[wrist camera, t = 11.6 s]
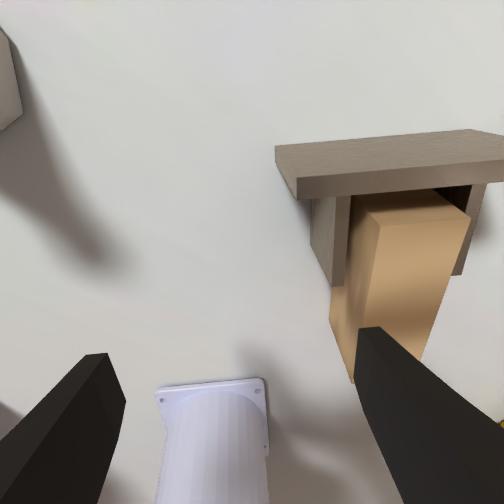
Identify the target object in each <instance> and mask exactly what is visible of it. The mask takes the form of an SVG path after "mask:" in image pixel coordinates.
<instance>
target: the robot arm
mask: <svg viewBox="0 0 504 504" xmlns="http://www.w3.org/2000/svg"><path fill="white" fill-rule="evenodd" d="M353 379H354V382H355V386H356V389H357V392H358V395H359V399H360V402H361V405H362V408H363V411H364V414H365V416H366V418H367V421H368V423H369V425H370V428H371V430H372V432H373V434H374V437H375V439H376V441H377V443H378V446H379V448H380V450H381V452H382V455H383V457H384V459H385V461H386V464H387V466H388V468H389V470H390V473H391V475H392V477H393V479H394V482H395V484H396V486H397V488H398V491H399V493H400V495H401V497H402V500H403V502H404V504H504V428H503V427H501V426H500V425H499V424H497V423H496V422H495V421H493V420H492V419H491V418H489V417H488V416H487V415H485V414H484V413H483V412H481V411H480V410H479V409H477V408H476V407H475V406H473V405H472V404H471V403H469V402H468V401H467V400H466V399H464V398H463V397H462V396H461V395H459V394H458V393H457V392H456V391H454V390H453V389H452V388H451V387H449V386H448V385H447V384H446V383H445V382H443V381H442V380H441V379H440V378H439V377H437V376H436V375H435V374H434V373H433V372H431V371H430V370H429V369H428V368H427V367H426V366H424V365H423V364H422V363H421V362H420V361H419V360H417V359H416V358H415V357H414V356H413V355H412V354H411V353H409V352H408V351H407V350H406V349H405V348H404V347H403V346H401V345H400V344H399V343H398V342H397V341H396V340H395V339H394V338H392V337H391V336H390V335H389V334H388V333H387V332H386V331H384V330H383V329H382V328H381V327H380V326H377V327H367V328H359V329H358V338H357V347H356V356H355V365H354V374H353ZM155 397H156V400H157V403H158V406H159V409H160V412H161V416H162V419H163V422H164V425H165V428H166V431H167V434H166V440H165V445H164V451H163V456H162V462H161V467H160V473H159V478H158V484H157V489H156V495H155V501H154V504H270V501H269V490H268V480H267V469H266V458H265V457H266V456H268V455H269V453H270V452H269V439H268V427H267V414H266V402H265V389H264V381H263V380H262V379H260V378H252V379H242V380H232V381H222V382H212V383H202V384H192V385H182V386H172V387H162V388H159V389H157V390H156V394H155ZM125 404H126V399H125V396H124V394H123V391H122V389H121V386H120V384H119V381H118V379H117V376H116V374H115V371H114V368H113V366H112V363H111V361H110V358H109V356H108V353H100V354H90V355H85V356H84V357H83V358H82V359H81V360H80V361H79V362H78V363H77V364H76V365H75V366H74V367H73V368H72V369H71V370H70V371H69V372H68V373H67V374H66V375H65V376H64V377H63V379H62V380H61V381H60V382H59V383H58V384H57V385H56V386H55V387H54V388H53V389H52V390H51V391H50V392H49V393H48V394H47V395H46V396H45V397H44V398H43V399H42V400H41V401H40V402H39V403H38V404H37V405H36V406H35V407H34V408H33V409H32V410H31V411H30V412H29V413H28V414H27V415H26V416H25V417H24V418H23V419H22V420H21V421H20V422H19V423H18V424H17V425H16V426H15V427H14V428H13V429H12V430H11V431H10V432H9V433H8V434H7V435H6V436H5V437H4V438H3V439H2V440H1V441H0V504H97V502H98V499H99V496H100V493H101V490H102V487H103V484H104V481H105V478H106V475H107V472H108V469H109V466H110V463H111V460H112V457H113V454H114V451H115V448H116V444H117V441H118V438H119V433H120V429H121V424H122V419H123V414H124V409H125Z"/></svg>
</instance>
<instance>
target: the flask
mask: <svg viewBox="0 0 504 504" xmlns="http://www.w3.org/2000/svg"><path fill="white" fill-rule="evenodd" d="M22 114H24V113H23V109H22V104H21V99H20V94H19V90H18V85H17V80H16V75H15V71H14V66H13V61H12V57H11V52H10V47H9V42H8V38H7V37H6V36H5V35H4V34H3V32H2V31H1V30H0V132H1V131H2V130H3V129H5V128H6V127H7V126H8V125H10V124H11V123H12V122H13V121H15V120H16V119H17V118H19V117H20V116H21V115H22Z"/></svg>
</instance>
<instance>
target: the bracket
mask: <svg viewBox="0 0 504 504" xmlns="http://www.w3.org/2000/svg"><path fill="white" fill-rule="evenodd" d="M275 162H276V164H277V166H278V168H279V170H280V171H281V173H282V175H283V177H284V179H285V180H286V182H287V184H288V186H289V187H290V189H291V191H292V193H293V195H294V196H295V198H296V200H305V199H311V247H312V249H313V251H314V253H315V255H316V257H317V259H318V261H319V263H320V265H321V267H322V269H323V271H324V273H325V275H326V277H327V279H328V282H329V284H330V286H331V287H339V286H344V279H345V266H346V253H347V240H348V227H349V214H350V201H351V195H361V194H372V193H383V192H394V191H405V190H416V189H427V188H431V189H432V190H434V191H435V192H436V193H438V194H439V195H441V196H442V197H443V198H445V199H446V200H447V201H449V202H450V203H451V204H453V205H454V206H455V207H457V208H458V209H459V210H461V211H462V212H463V213H465V214H466V215H468V216H469V217H470V218H471V221H470V224H469V227H468V229H467V232H466V235H465V238H464V240H463V243H462V246H461V249H460V252H459V254H458V257H457V260H456V263H455V265H454V268H453V271H452V274H451V276H455V275H461V274H462V271H463V267H464V263H465V260H466V256H467V253H468V249H469V246H470V242H471V239H472V235H473V231H474V228H475V224H476V221H477V217H478V214H479V210H480V206H481V203H482V199H483V196H484V192H485V189H486V185H487V183H494V182H504V136H502V135H497V134H492V133H487V132H482V131H477V130H472V129H466V130H454V131H443V132H431V133H419V134H408V135H396V136H385V137H373V138H362V139H350V140H338V141H327V142H315V143H304V144H292V145H281V146H275Z"/></svg>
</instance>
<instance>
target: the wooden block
mask: <svg viewBox="0 0 504 504" xmlns="http://www.w3.org/2000/svg"><path fill="white" fill-rule="evenodd" d="M470 221H471V218H470V217H469V216H468V215H466V214H465V213H463V212H462V211H461V210H459V209H458V208H457V207H455V206H454V205H453V204H451V203H450V202H449V201H447V200H446V199H445V198H443V197H442V196H441V195H439V194H438V193H436V192H435V191H434V190H432V189H431V188H427V189H416V190H405V191H394V192H383V193H372V194H361V195H351V201H350V214H349V227H348V240H347V253H346V266H345V279H344V286H339V287H332V292H331V302H330V313H329V322H330V325H331V328H332V331H333V333H334V336H335V339H336V342H337V344H338V347H339V350H340V353H341V355H342V358H343V361H344V364H345V367H346V369H347V372H348V375H349V378H350V380H351V383H352V384H355V382H354V379H353V374H354V365H355V356H356V347H357V338H358V329H359V328H367V327H377V326H380V327H381V328H382V329H383V330H384V331H386V332H387V333H388V334H389V335H390V336H391V337H392V338H394V339H395V340H396V341H397V342H398V343H399V344H400V345H401V346H403V347H404V348H405V349H406V350H407V351H408V352H409V353H411V354H412V355H413V356H414V357H415V358H416V359H417V360H419V361H420V360H421V357H422V354H423V351H424V349H425V346H426V343H427V340H428V338H429V335H430V332H431V329H432V326H433V324H434V321H435V318H436V315H437V313H438V310H439V307H440V304H441V301H442V299H443V296H444V293H445V290H446V288H447V285H448V282H449V279H450V277H451V274H452V271H453V268H454V265H455V263H456V260H457V257H458V254H459V252H460V249H461V246H462V243H463V240H464V238H465V235H466V232H467V229H468V227H469V224H470Z"/></svg>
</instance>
